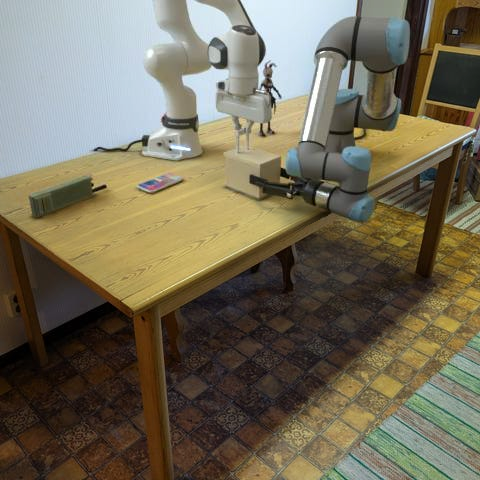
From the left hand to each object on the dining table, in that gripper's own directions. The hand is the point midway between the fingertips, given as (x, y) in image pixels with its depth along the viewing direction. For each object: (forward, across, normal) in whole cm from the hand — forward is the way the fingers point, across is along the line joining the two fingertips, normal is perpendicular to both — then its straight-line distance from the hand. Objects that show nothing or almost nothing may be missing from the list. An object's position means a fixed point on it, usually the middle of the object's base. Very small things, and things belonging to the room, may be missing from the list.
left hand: (242, 131), depth 156 cm
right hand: (+12, -8, 0) cm, 14 cm away
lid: (+7, -4, 0) cm, 9 cm away
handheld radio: (+18, +27, +45) cm, 56 cm away
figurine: (+18, +29, -47) cm, 58 cm away
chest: (+18, -4, 0) cm, 18 cm away
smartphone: (+18, +19, +18) cm, 32 cm away
